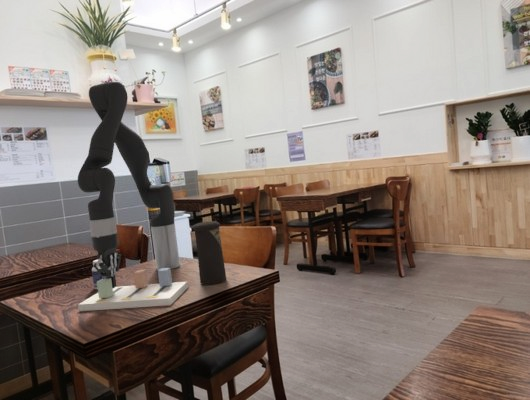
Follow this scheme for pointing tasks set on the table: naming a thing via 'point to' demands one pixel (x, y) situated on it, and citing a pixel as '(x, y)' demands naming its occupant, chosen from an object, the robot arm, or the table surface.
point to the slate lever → (165, 276)
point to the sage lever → (105, 288)
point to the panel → (136, 297)
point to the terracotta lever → (141, 278)
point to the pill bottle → (96, 275)
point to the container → (209, 253)
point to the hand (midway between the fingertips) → (112, 287)
